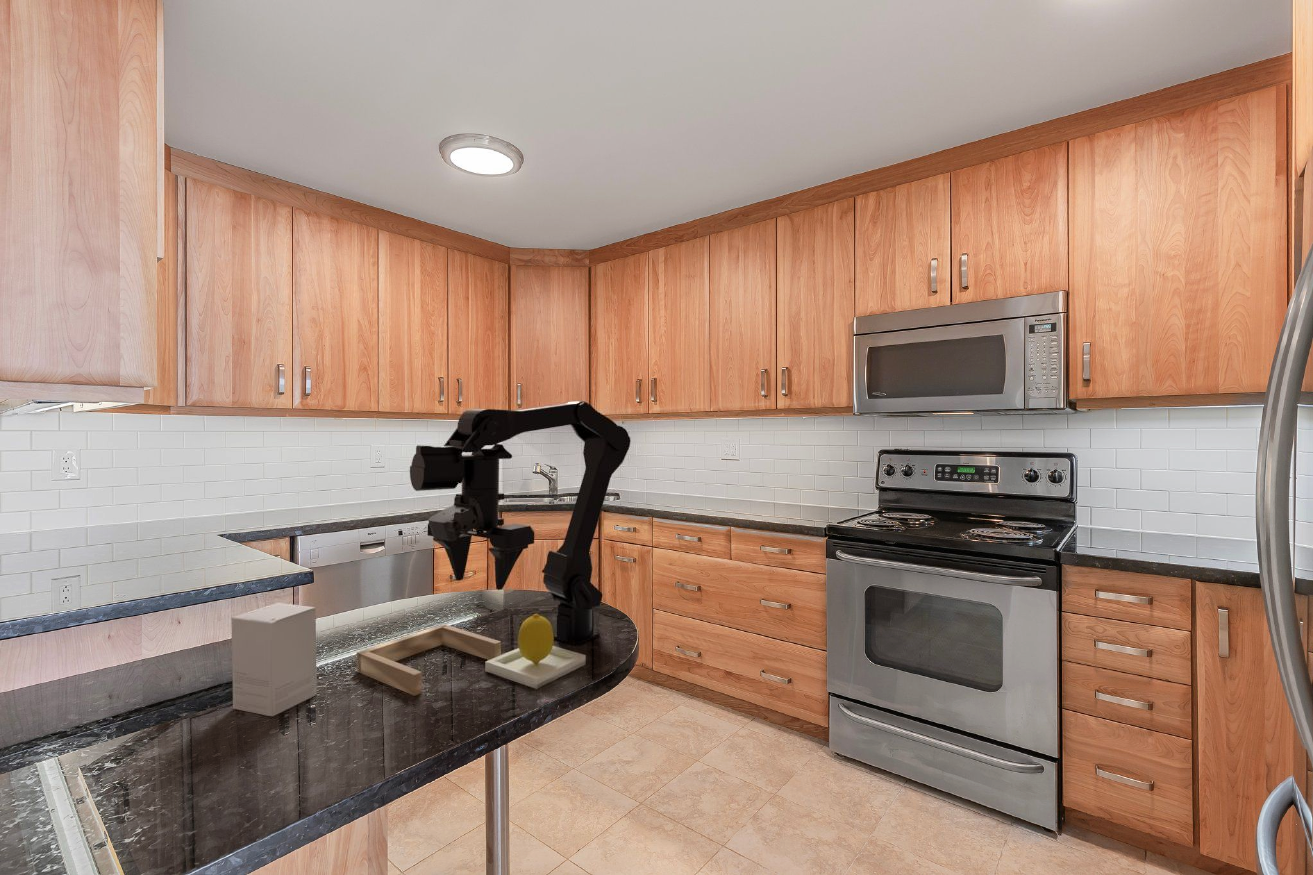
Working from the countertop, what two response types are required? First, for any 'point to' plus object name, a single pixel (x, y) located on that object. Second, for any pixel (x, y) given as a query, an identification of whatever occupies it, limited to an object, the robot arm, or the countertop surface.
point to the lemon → (535, 638)
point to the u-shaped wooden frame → (407, 679)
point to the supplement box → (274, 658)
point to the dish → (535, 666)
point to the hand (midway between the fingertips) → (479, 584)
